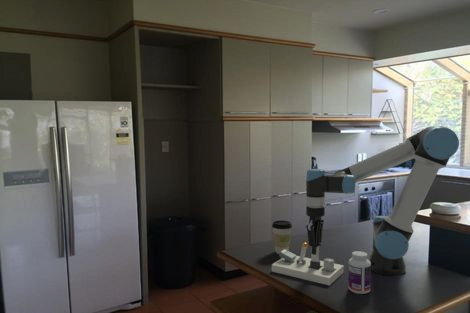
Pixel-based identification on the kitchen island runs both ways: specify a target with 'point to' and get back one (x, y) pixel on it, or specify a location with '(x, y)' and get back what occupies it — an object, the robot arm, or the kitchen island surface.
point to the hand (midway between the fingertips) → (315, 261)
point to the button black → (315, 265)
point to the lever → (303, 252)
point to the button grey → (328, 265)
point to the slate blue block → (287, 255)
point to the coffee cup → (281, 235)
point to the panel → (307, 270)
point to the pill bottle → (359, 273)
